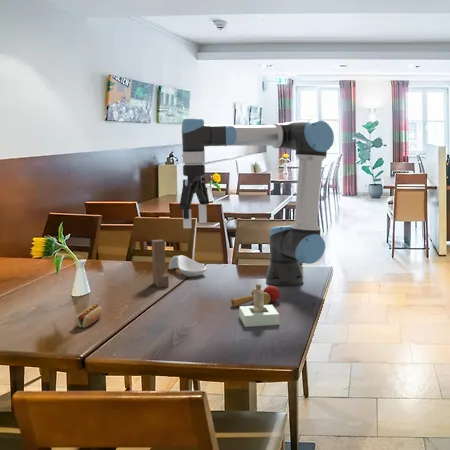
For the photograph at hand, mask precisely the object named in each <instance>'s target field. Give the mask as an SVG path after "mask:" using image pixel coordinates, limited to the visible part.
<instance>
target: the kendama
mask: <svg viewBox="0 0 450 450" xmlns="http://www.w3.org/2000/svg"><path fill="white" fill-rule="evenodd" d="M263 295H264V305H269V303H275V302H276V301H278V300H279V298H280V296H281V295H280V290H279V288H278V287H276V285H268V286H266V287H265V288H263ZM230 300H231V301H230V303H231V305H232V307H233V308H235V307H239V306H243V305H244V304H248V303H250V302H254V290H253V289H252V290H251V295H246V296H241V297H235V298H231V299H230Z"/></svg>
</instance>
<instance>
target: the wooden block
mask: <svg viewBox="0 0 450 450" xmlns="http://www.w3.org/2000/svg"><path fill="white" fill-rule="evenodd" d="M165 242H166V241H165V240H164V239H152V240H151V257H152V259H151V260H152V261H151V262H152V283H153V284H154V285H155V287H156V288H159V289H160V288H168V287H169V284H170V283H169V282H170V281H169V275H168V274H167V270H166V269H167V268H166V243H165Z"/></svg>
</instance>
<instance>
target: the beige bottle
mask: <svg viewBox="0 0 450 450" xmlns="http://www.w3.org/2000/svg"><path fill="white" fill-rule="evenodd" d="M253 290H254V300H253V306H254V313H263V312H264V295H263V291H264V288H262V284H261V283H256V284H255V287H254V288H253V289H252V291H253Z"/></svg>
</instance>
